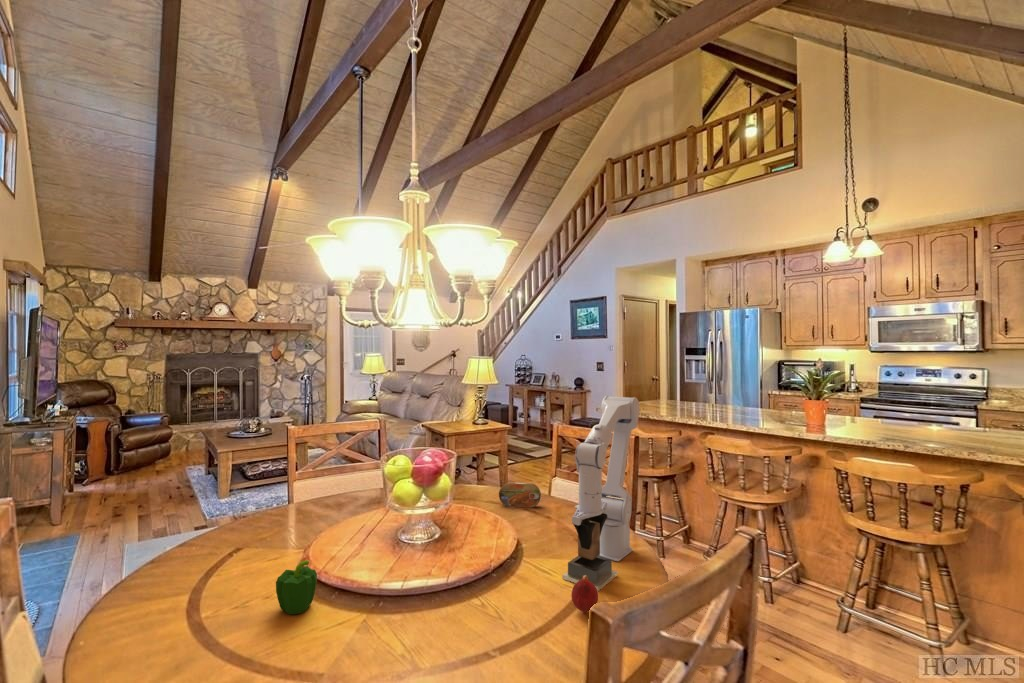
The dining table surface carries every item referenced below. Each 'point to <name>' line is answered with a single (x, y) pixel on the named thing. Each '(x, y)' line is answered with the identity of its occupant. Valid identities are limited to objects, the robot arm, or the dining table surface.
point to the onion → (584, 594)
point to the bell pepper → (296, 588)
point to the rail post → (595, 544)
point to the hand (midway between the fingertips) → (590, 545)
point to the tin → (520, 495)
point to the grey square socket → (590, 571)
